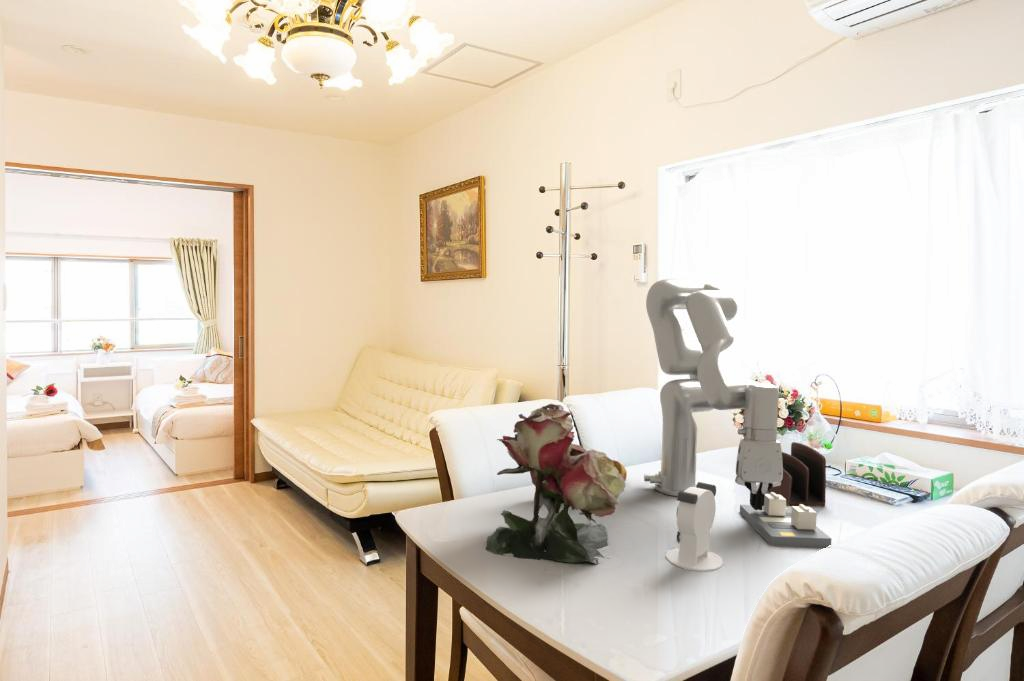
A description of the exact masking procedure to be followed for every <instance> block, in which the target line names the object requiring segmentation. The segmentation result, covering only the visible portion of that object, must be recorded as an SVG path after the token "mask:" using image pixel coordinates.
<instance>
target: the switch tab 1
mask: <svg viewBox="0 0 1024 681" xmlns="http://www.w3.org/2000/svg"><path fill="white" fill-rule="evenodd" d="M786 506H787V504H786V499H785V498H784V497H782V496H781V495H778V494H775V493H774V492H770V493H766V494H765V500H764V506H763V510H764V511H765V512H766V513H767V514H768V515H776V516H785V515H786Z"/></svg>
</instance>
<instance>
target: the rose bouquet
mask: <svg viewBox="0 0 1024 681" xmlns="http://www.w3.org/2000/svg"><path fill="white" fill-rule="evenodd" d="M571 415H572V412H569V411H566V410H565V409H564V406H563V405H560V404H555V403H548V404H547V405H545V406H543V405H542V406H541V407H540V408H536V409H534V410H532V411H531V412H530V415H528V417H526V416H525V415H523V413H520V414H518V418H519V419H521V420H519V421H516V422H515V424H514V426H513V427H514V429H513V433H515V434H514V437H511V436H509V435H502V438H500V439H499V438H498V439H496V441H499V442H501V443H502V445H503V446H504V447H506V450H507V453H508V455H509V457H510V458H511V459H513V460H514V461H515V463H516V464H517V465H518V466H517V467H513V468H505V469H504V468H503V469H501V470H500V471H498V472H497V473H496V475H497V476H501V475H505V474H507V475H509V474H510V475H517V474H519V475H520V474H525V473H529V474H530V479H531V483H532V485H534V487H535V488H534V489H535V492H534V497H533V517H532V519H531V520H528V519H526V518H523V517H522V516H519V515H516V514H513V513H512V512H511V511H509V510H505V509H504V510H502V512H501V513H500V515H501V516H502V518H504V520H503V521H504V523H505V524H506V525H507V527H504V526H499V527H498V528H496V529H495V530H494V532H493V533H492V534H490V535H488V536H487V537H486V545H485V546H486V547H485V550H486V551H488V552H490V553H491V554H494V555H498V556H499V555H500V556H506V555H508V554H511V555H512V556H509V557H512V558H516V559H528V560H529V559H531V560H538V561H540V560H541V559H542V560H554V561H557V562H563V563H571V564H579V563H583V562H587V563H588V562H589V563H591V564H595V565H599V560H600V559H599V557H600V558H602V559H603V558H604V559H609V560H610V558H608V557H605V556H604V555H603V554H602V552H600V551H599V550H598V549H599V548H602V547H606V546H608V544H609V539H608V538H609V537H608V532H607V526H606V525H604V524H601V523H599V524H598V523H597V522H596V520H595V519H593V518H592V515H594V517H599V518H603V517H605V516H612V515H613V514H614V513H615V510H616V506H618V505H619V504H620V500H619V498H620V494H621V493H623V492H625V490H624V489H625V486H626V481H625V477H624V476H623V475H622V474H619V473H618V472H619V471H618V470H617V468H616V467H613V466H614V462H613V460H614V459H611V458H610V457H608V455H607V454H606V453H605V452H602V451H599V450H596V449H592V448H591V449H590V450H586V449H585V448H584V446H583V445H579V444H576V443H575V444H574V443H573V442H574V440H575V439H574V438H575V432H574V431H573V428H574V425H573V424H572V423H573V420H574V419H573V418H571V417H570V416H571ZM543 505H544V507H545V508H546V510H547V512H548V513H547V515H546V516H545V517H540V515H539V514H540V513H539V512H540V509H541V508H542V506H543ZM562 505H563V507H562V509H561V506H562ZM570 508H571V510H572V511H574V510H579V511H581V512H578V514H579V515H580V516H584V517H585V518H586V519H587V521H588V522H589V523H588V524H587V523H580V522H579V523H578V522H574V521H573V519H572V516H570V514H569V509H570ZM591 521H592V522H593V523H595V524H592V523H590V522H591Z"/></svg>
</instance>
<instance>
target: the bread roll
mask: <svg viewBox="0 0 1024 681" xmlns="http://www.w3.org/2000/svg"><path fill="white" fill-rule="evenodd" d="M612 460H613V462H614V466H613V467H616V468H617V470H618V471H619V472H618V473H619V474H622V475H623V476H624V477H625V482H626V481H627V475H628V474H627V469H626V467H625V466H624V465H623V464H622V463H621V462H620V461H618V460H614V459H612Z"/></svg>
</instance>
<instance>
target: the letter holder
mask: <svg viewBox="0 0 1024 681" xmlns="http://www.w3.org/2000/svg"><path fill="white" fill-rule="evenodd" d="M782 462H783V478H782V481H781V485H780V486H775V487H772V488H770V489H769V490H768V491H767V492H769V493H771V492H774V493H775V494H778V495H781V496H782V497H784V498H785V499H786V505H788V506H789V505H793V506H795V505H796V506H799V504H803V505H804V506H806V507H825V506H826V491H827V490H826V488H827V487H826V486H827V485H826V484H827V483H826V482H827V475H826V474H827V469H826V468H827V467H826V466H827V460H826V458H825V455H822V454H821V453H820V452H819V451H817V450H816V449H814V448H812V447H810V446H808V445H806V444H803V443H800V442H796V441H793V442H792V441H791V445H790V454H789V453H786V452H783V451H782Z"/></svg>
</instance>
